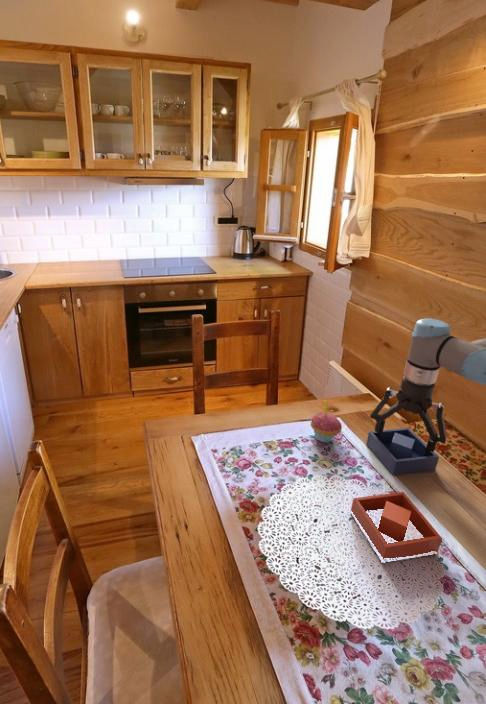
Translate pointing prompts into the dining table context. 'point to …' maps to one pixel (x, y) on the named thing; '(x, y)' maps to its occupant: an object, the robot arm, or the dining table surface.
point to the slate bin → (401, 466)
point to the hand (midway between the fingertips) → (400, 450)
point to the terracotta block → (394, 521)
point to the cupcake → (325, 425)
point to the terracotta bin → (418, 520)
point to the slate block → (401, 446)
